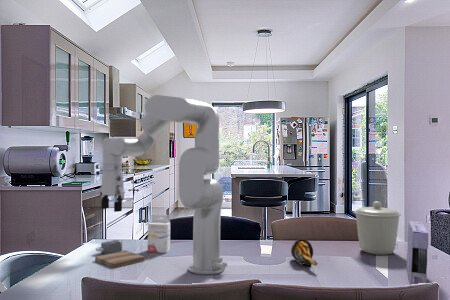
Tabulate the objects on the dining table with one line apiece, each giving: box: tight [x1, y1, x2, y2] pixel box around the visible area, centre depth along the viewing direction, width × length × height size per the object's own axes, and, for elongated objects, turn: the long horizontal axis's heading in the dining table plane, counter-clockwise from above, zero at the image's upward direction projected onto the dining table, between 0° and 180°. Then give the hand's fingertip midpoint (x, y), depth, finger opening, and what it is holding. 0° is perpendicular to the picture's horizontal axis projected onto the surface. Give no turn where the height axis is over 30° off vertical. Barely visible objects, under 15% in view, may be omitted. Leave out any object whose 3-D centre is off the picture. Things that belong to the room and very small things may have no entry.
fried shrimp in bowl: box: [290, 238, 319, 267], centre depth 143 cm, size 9×11×18 cm
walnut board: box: [94, 250, 146, 269], centre depth 146 cm, size 13×13×2 cm
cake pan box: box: [406, 220, 429, 285], centre depth 126 cm, size 19×5×18 cm, turn 158°
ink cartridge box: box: [147, 214, 171, 254], centre depth 160 cm, size 9×5×15 cm, turn 84°
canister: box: [354, 200, 402, 256], centre depth 161 cm, size 18×18×21 cm
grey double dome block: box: [95, 239, 123, 255], centre depth 158 cm, size 4×11×4 cm, turn 137°
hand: (111, 209), depth 159 cm, fingers open, 9 cm apart
